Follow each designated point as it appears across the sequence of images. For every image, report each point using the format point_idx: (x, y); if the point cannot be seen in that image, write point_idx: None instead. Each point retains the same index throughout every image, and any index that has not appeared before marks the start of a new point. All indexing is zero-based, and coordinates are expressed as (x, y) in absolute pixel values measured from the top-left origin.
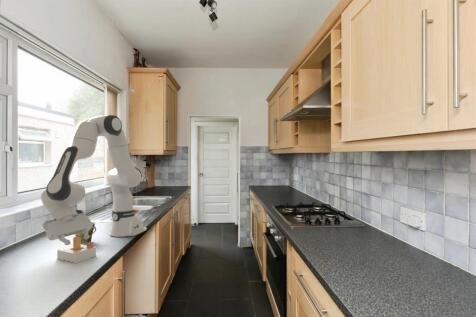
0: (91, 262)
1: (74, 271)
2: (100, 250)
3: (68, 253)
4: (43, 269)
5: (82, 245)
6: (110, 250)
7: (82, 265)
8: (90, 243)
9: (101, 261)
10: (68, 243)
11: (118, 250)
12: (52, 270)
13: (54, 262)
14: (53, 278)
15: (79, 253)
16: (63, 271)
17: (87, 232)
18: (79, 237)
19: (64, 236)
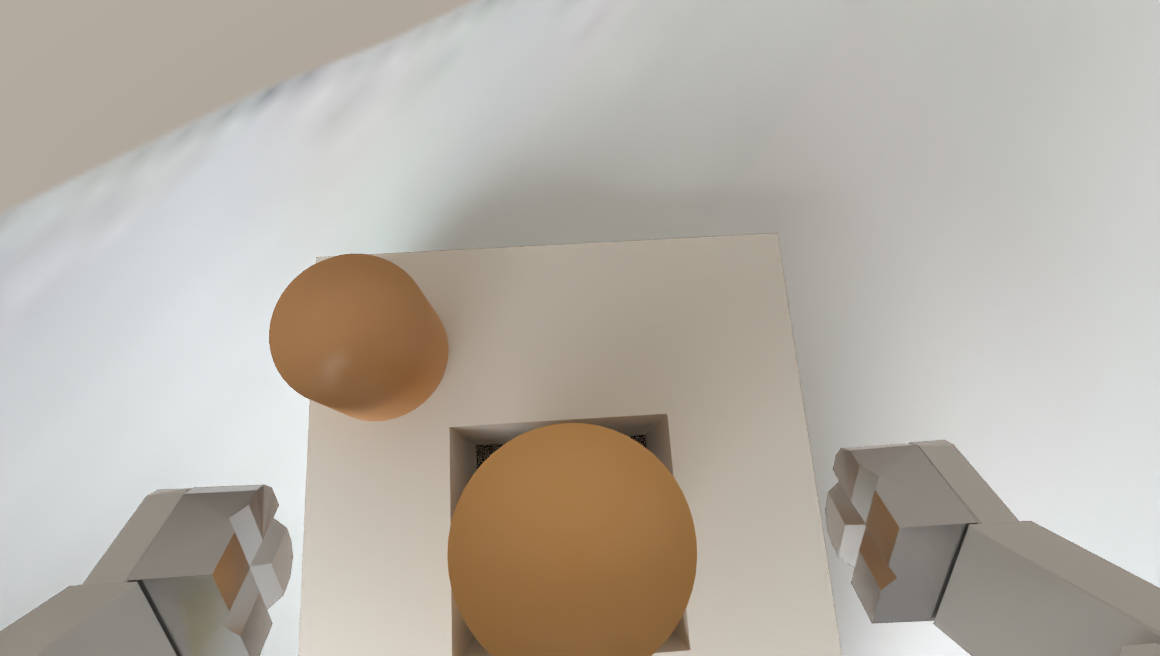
0: (593, 140)
1: (896, 65)
2: (115, 489)
3: (801, 457)
4: (1136, 480)
5: (352, 641)
6: (55, 330)
7: (727, 148)
8: (367, 293)
9: (500, 60)
10: (903, 448)
11: (11, 216)
12: (1063, 329)
13: (908, 636)
14: (1147, 87)
15: (704, 242)
16: (982, 175)
17: (16, 640)
18: (519, 486)
19: (1134, 653)
